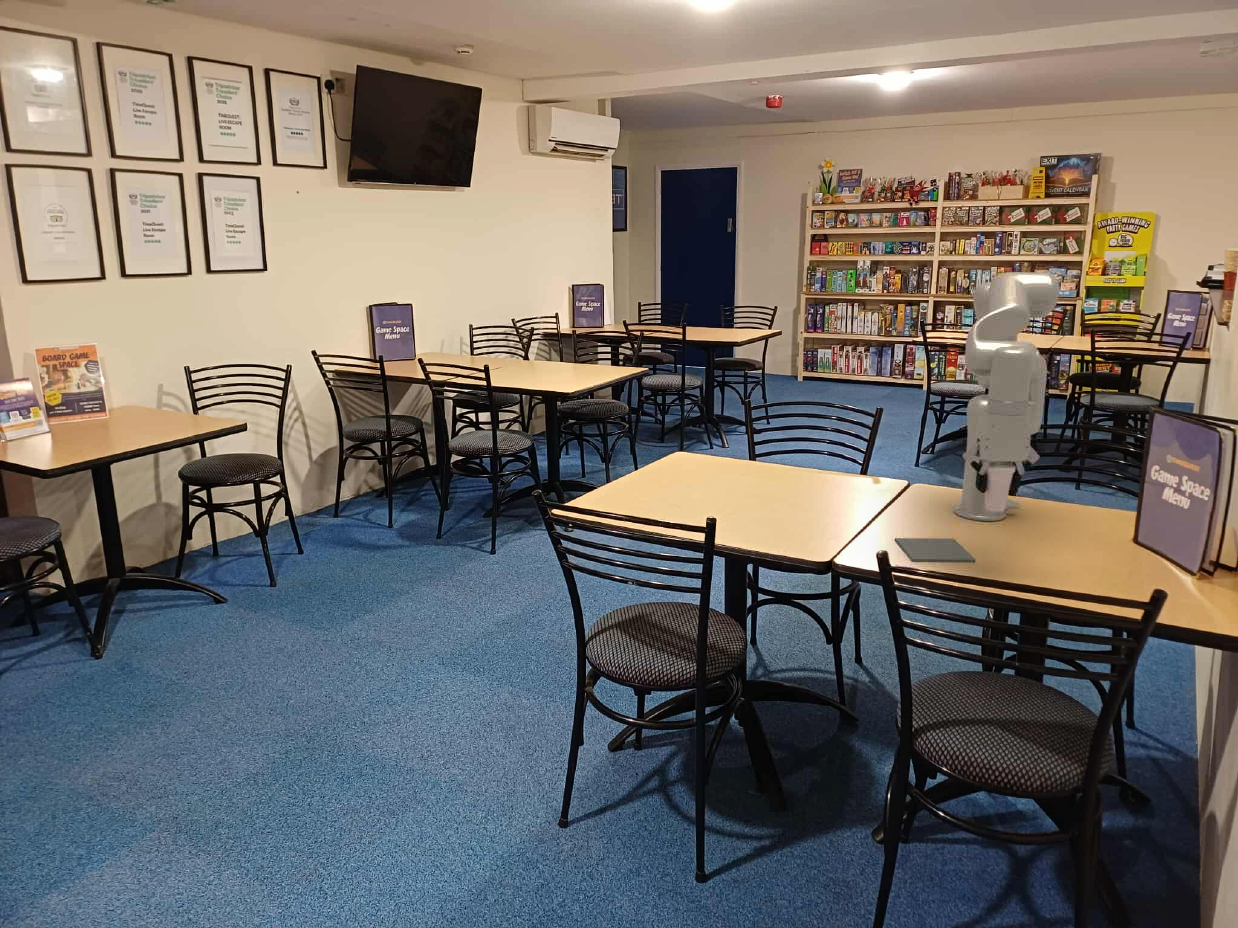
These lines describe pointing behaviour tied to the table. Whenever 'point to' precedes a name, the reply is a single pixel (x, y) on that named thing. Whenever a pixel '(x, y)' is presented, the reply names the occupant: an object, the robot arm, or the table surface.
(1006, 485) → the white drink cup
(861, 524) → the table surface
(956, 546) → the coaster mat
